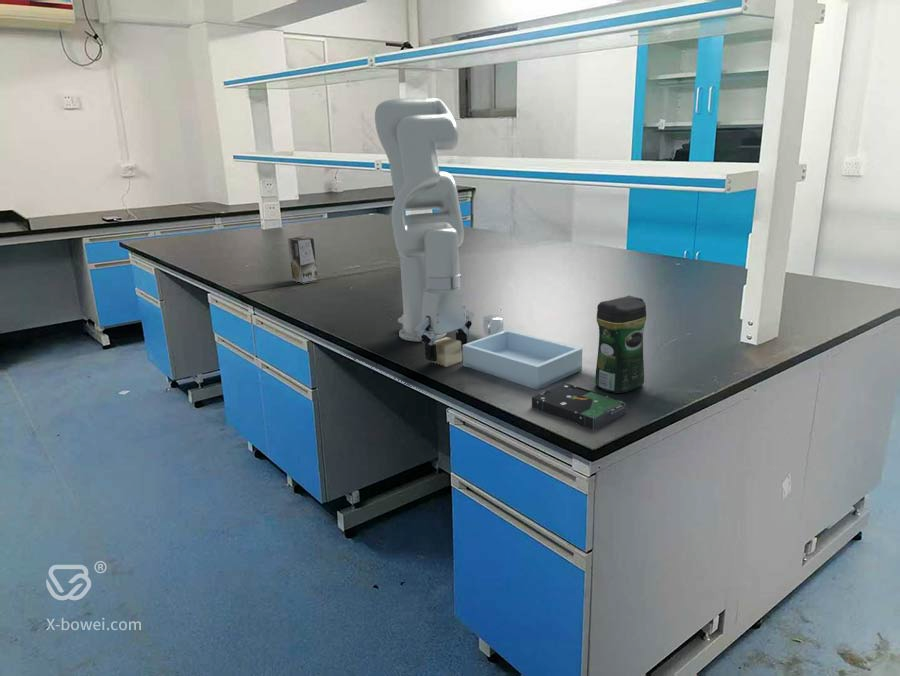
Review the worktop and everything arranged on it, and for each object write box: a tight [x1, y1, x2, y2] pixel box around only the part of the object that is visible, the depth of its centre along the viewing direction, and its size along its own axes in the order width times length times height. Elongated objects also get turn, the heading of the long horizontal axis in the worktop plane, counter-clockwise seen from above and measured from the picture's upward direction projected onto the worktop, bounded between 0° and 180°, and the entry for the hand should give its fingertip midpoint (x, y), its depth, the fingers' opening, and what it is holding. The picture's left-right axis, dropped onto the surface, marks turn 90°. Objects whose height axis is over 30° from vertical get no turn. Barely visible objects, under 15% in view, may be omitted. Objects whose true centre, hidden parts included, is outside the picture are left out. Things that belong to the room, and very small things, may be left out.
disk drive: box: [531, 382, 628, 431], centre depth 124 cm, size 10×3×15 cm
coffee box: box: [287, 235, 319, 282], centre depth 240 cm, size 9×6×16 cm
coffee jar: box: [594, 295, 647, 394], centre depth 132 cm, size 10×8×19 cm
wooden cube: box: [431, 336, 463, 368], centre depth 152 cm, size 5×5×5 cm
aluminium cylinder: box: [482, 314, 505, 338], centre depth 162 cm, size 5×5×7 cm
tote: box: [462, 329, 583, 391], centre depth 146 cm, size 22×15×5 cm
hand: (446, 355), depth 152 cm, fingers open, 9 cm apart
